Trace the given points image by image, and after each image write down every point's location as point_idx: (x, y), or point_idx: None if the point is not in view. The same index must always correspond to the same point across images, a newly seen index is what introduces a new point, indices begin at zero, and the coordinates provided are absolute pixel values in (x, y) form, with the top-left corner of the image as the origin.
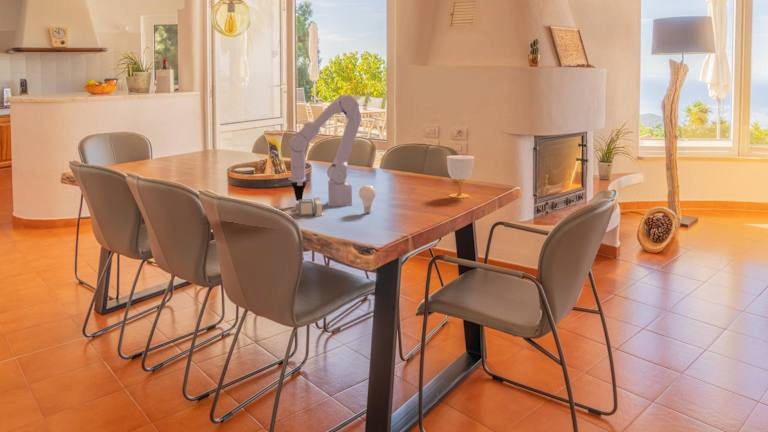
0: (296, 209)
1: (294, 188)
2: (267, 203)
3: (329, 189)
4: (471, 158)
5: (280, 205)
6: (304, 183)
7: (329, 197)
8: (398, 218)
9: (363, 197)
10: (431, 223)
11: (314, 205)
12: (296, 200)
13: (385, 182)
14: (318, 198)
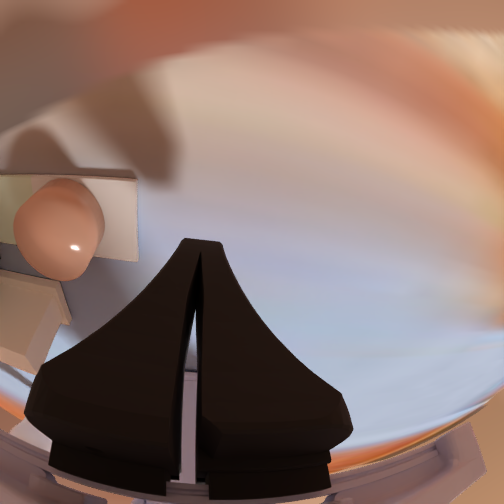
0: (43, 185)
1: (85, 349)
2: (455, 34)
3: (183, 456)
4: None
5: (340, 80)
6: (195, 476)
7: (185, 413)
8: (17, 402)
9: (11, 429)
10: (3, 407)
11: (8, 310)
12: (183, 239)
13: (410, 432)
14: (17, 366)
